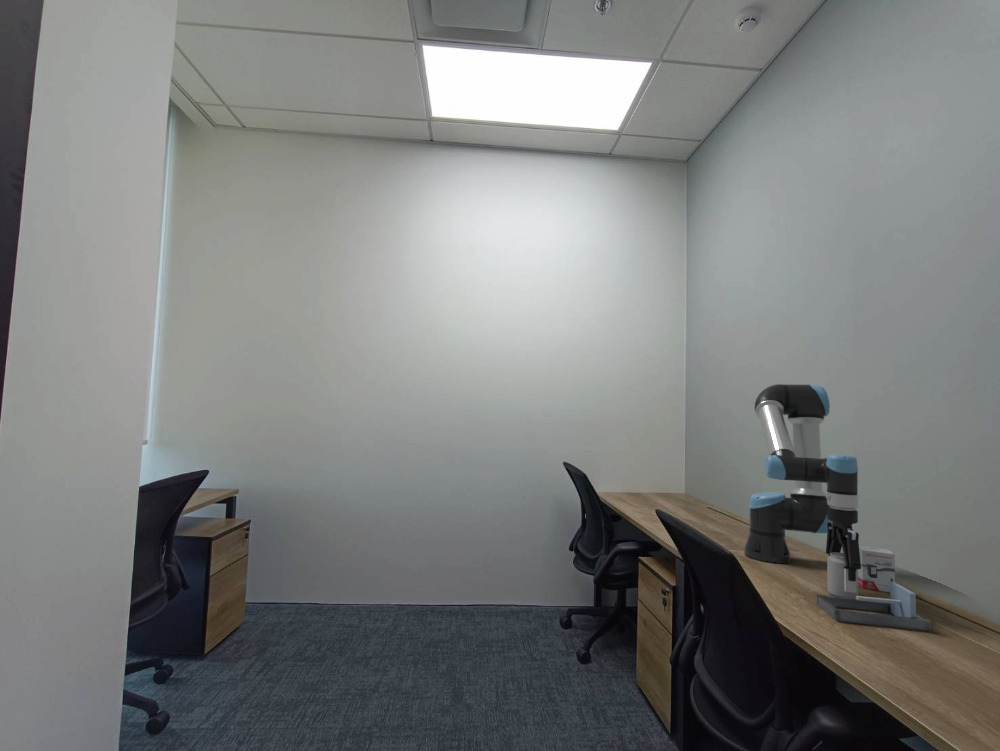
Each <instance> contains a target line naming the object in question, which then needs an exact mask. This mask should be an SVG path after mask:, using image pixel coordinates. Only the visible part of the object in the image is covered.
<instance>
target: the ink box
mask: <svg viewBox="0 0 1000 751" xmlns="http://www.w3.org/2000/svg"><path fill="white" fill-rule="evenodd" d="M859 552H860V562H861V569H858V587H860V588H862V590H871V591H877V592H885V593H890V582H895V583H896V554H894V553H893V552H892V551H891V550H890V549H887V548H886V549H885V548H878V547H872V546H861V545H859Z"/></svg>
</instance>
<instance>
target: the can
mask: <svg viewBox="0 0 1000 751" xmlns="http://www.w3.org/2000/svg"><path fill="white" fill-rule="evenodd" d="M826 559H827V560H826V566H827V567H826V569H827V571H826V575H827V580H826V581H827V582H826V583H827V589H826V590H827V591H828V593H829V594H830V596H833V597H843V598H853V599H856V596H859V585H858V569H857V570H856V593H853V592H845V591H844V568H843V567H844V566H846V564H845V559H844V554H843V552H840V553H839V552H831V553H830V556H829V555H828V557H827V558H826Z"/></svg>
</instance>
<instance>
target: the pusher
mask: <svg viewBox="0 0 1000 751" xmlns="http://www.w3.org/2000/svg"><path fill="white" fill-rule="evenodd" d="M889 593H890V594H889V598H882V597H872V596H861V595H858V596H856V599H857V600H860V601H870V602H880V603H890V612H891V613H890V614H892V615H893V616H900V617H910V618H916V614H917V606H916V605H917V604H916V602H917V600H916V598H917V597H916V596H917V594H916V593H915V592H913V591H911V590H910V589H908V588H906V587H904V586H902V585H900V584H899V583H897V582H896V581H895V582H890V592H889Z"/></svg>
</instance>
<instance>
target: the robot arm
mask: <svg viewBox="0 0 1000 751" xmlns="http://www.w3.org/2000/svg"><path fill="white" fill-rule="evenodd" d="M829 399H830V398H829V395H828V393H827V391H826V389H825V388H824V387H823V386H821V385H815V384H781V383H780V384H779V383H778V384H772V385H770V386H767V387H766V388H764V389H763V390H762V391H761V392H760V393H759V394H758V395H757V396H756V399H755V402H754V412H755V415H756V417H757V418H758V419H759V420H760V424H761V428H762V431H763V436H764V438H765V443H766V444H765V445H766V447H767V451H768V455H767V456H766V457H765V460H764V473H765V475H766V477H767V478H768V479H773V480H778V481H793V482H794V489H793V490H792V491H791V492H790V497H787V496H786V495H785V493H782V492H775V491H774V492H773V491H772V492H771V491H770V492H769V491H765V492H757V493H753V494H751V496H750V497H749V506H748V508H749V526H748V527H749V530H748V531H749V532H748V535H747V539H746V541H745V544H744V547H743V548H744V549H743V554H744V553H745V554H746V555H748V556H750V557H752V558H751V559H753V558H755V559H754V560H757V559H758V560H757V561H761V560H762V562H766V561H768V562H767V563H773V562H776V564H783V563H784V564H787V563H789V562H791V551H790V548H789V546H788V543H787V539H786V531H792V532H793V531H794V532H802V533H812V534H827V535H826V544H825V553H826V554H827V555H828V557H829V556H830V553H831V552H839V553H843V554H844V559H845V564H846V566H844V567H843V568H844V591H845V592H853V593H856V570H857V569H861V562H860V552H859V546H860V543H859V540H860V538H859V537H860V535H859V532H857V531H854V529H853V525H854V524H857V523H858V522H859V518H858V517H859V515H858V514H859V511H858V510H857V509H858V508H859V494H858V486H859V485H858V483H859V482H858V480H859V479H858V478H859V477H858V475H859V474H858V471H859V467H858V460H857V458H856V457H855V456H853V455H847V454H846V455H845V454H829V455H827V456H826V457H823V458H822V456H821V455H822V454H821V435H820V434H821V429H820V428H821V427H820V425H821V424H823V422H824V421H825V418H826V417H827V416H828V415H829V414H830V407H831V406H830V405H831V404H830V400H829ZM784 416H787V421H788V422H789V423H790V424H792V439H793V440H791V438H790V434H789V431H788V427H787V424H786V421H785V418H784ZM825 483H826V492H824V491H823V484H825ZM745 554H744V555H745ZM746 555H745V556H746ZM748 556H747V557H748ZM750 557H749V558H750ZM786 562H787V563H786Z"/></svg>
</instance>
